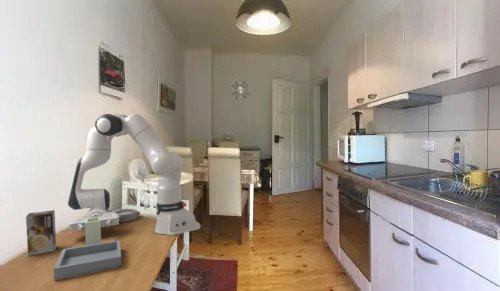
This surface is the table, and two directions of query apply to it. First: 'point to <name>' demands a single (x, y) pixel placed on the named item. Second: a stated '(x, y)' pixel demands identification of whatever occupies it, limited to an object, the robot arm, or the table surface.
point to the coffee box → (41, 232)
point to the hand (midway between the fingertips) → (94, 227)
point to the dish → (127, 214)
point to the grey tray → (88, 260)
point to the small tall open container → (93, 230)
